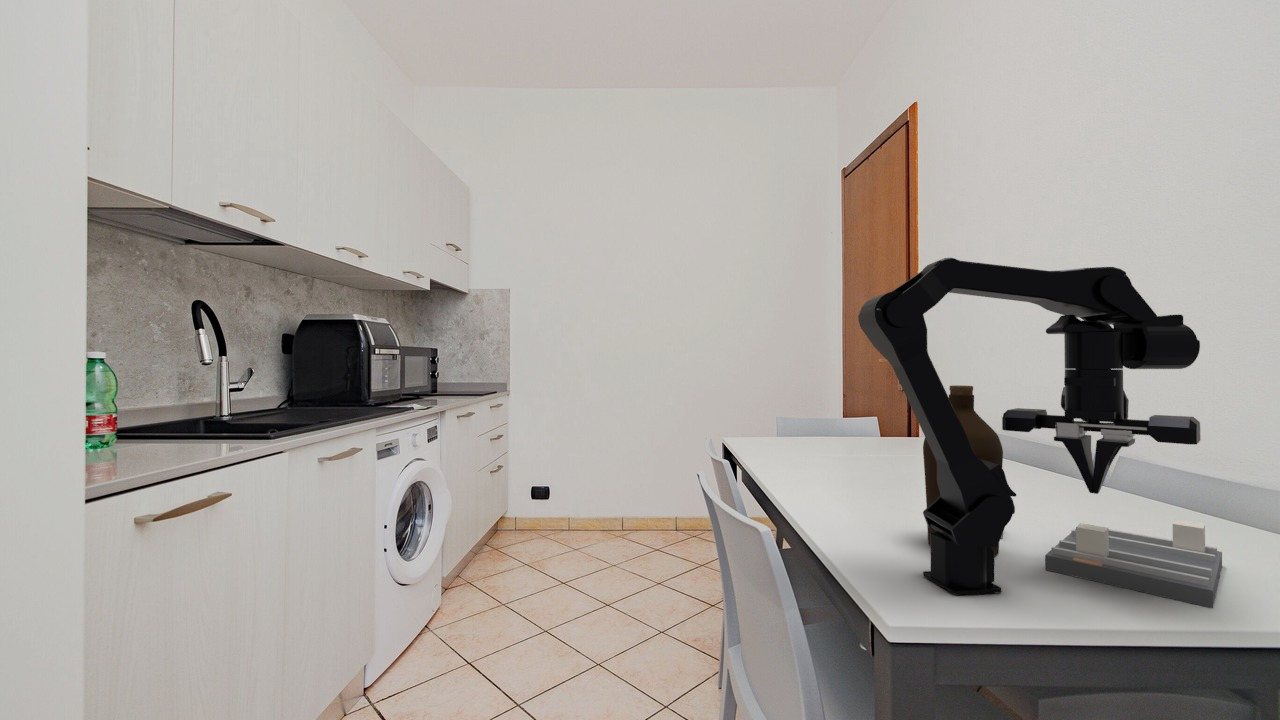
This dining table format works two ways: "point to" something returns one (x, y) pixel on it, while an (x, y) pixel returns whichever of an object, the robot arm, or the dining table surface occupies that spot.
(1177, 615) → the dining table surface
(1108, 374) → the robot arm
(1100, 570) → the switch panel
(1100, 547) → the tab near
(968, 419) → the olive oil
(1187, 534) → the tab far
